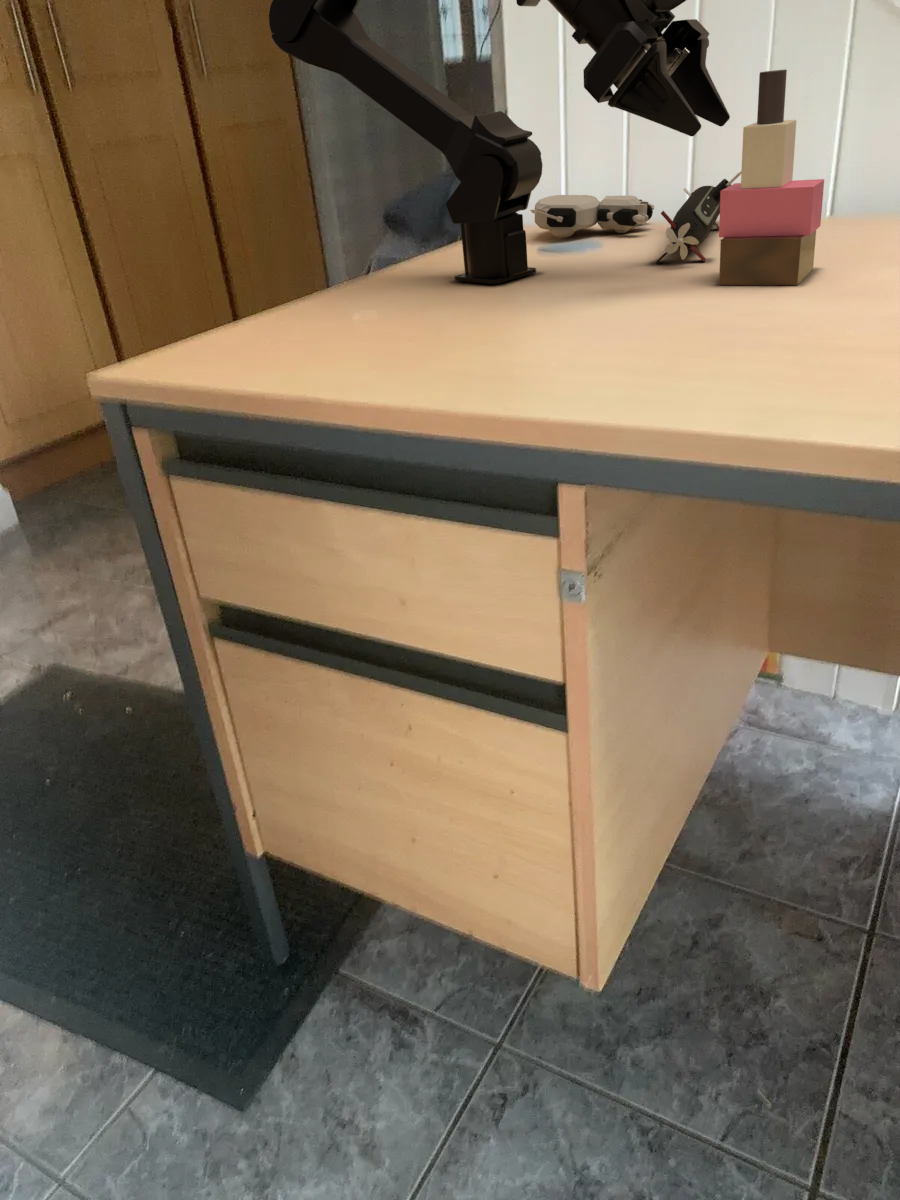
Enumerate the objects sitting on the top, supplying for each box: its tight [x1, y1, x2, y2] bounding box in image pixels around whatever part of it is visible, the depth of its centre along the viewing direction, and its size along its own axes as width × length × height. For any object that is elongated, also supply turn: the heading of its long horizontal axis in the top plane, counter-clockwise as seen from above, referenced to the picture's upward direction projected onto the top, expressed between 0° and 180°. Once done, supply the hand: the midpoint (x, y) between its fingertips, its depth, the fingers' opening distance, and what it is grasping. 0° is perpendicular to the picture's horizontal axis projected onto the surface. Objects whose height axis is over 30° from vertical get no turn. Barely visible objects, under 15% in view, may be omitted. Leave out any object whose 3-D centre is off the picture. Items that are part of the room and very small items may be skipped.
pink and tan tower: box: [718, 69, 825, 238], centre depth 83 cm, size 8×5×13 cm, turn 61°
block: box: [718, 229, 817, 286], centre depth 87 cm, size 7×7×4 cm
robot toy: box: [529, 194, 655, 239], centre depth 120 cm, size 12×4×15 cm
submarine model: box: [655, 171, 741, 264], centre depth 106 cm, size 31×7×10 cm
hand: (712, 126), depth 84 cm, fingers open, 9 cm apart
